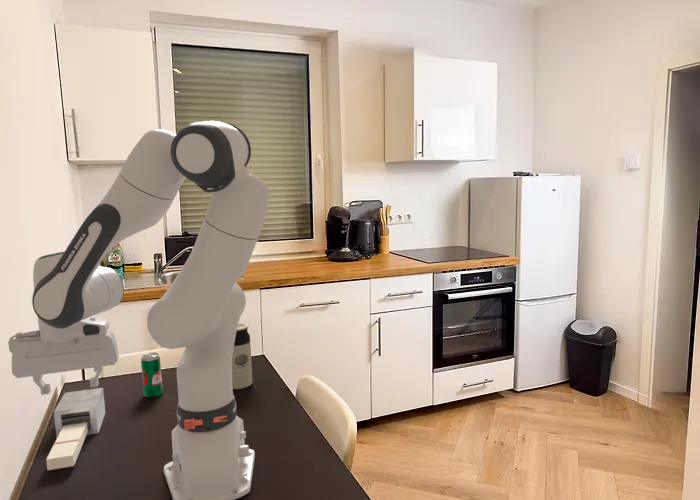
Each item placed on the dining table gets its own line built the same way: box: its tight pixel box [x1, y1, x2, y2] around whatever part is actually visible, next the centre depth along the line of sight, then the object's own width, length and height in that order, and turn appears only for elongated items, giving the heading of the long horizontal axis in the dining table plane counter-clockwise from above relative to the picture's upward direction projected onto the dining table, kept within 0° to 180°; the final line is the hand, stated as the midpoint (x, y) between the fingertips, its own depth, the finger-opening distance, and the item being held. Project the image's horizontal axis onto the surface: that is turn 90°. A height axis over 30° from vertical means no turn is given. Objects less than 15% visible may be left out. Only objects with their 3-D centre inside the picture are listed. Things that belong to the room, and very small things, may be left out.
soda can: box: [140, 351, 163, 399], centre depth 148 cm, size 5×5×12 cm
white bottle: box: [232, 322, 253, 390], centre depth 154 cm, size 8×8×18 cm
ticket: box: [45, 422, 88, 471], centre depth 116 cm, size 16×5×2 cm, turn 17°
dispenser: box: [53, 387, 106, 438], centre depth 131 cm, size 12×9×7 cm
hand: (70, 389), depth 113 cm, fingers open, 8 cm apart
